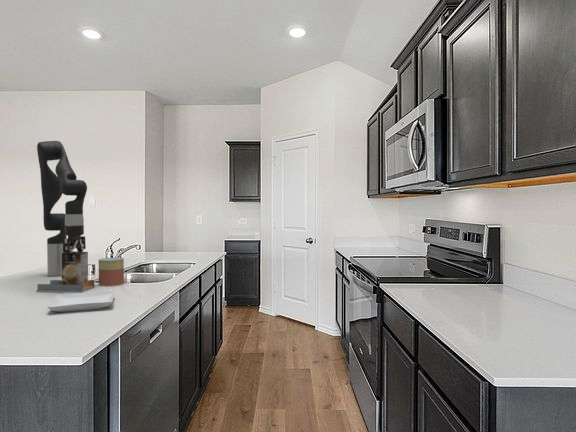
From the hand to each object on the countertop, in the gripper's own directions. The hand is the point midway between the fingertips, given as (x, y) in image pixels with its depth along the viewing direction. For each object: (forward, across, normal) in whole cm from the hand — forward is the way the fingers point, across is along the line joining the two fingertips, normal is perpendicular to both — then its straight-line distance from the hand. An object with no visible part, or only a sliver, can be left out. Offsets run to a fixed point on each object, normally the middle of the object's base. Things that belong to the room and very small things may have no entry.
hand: (74, 260), depth 186 cm
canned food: (+13, -14, +10) cm, 22 cm away
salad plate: (+14, +28, +19) cm, 37 cm away
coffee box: (+12, 0, 0) cm, 13 cm away
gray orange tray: (+13, 0, -4) cm, 14 cm away
